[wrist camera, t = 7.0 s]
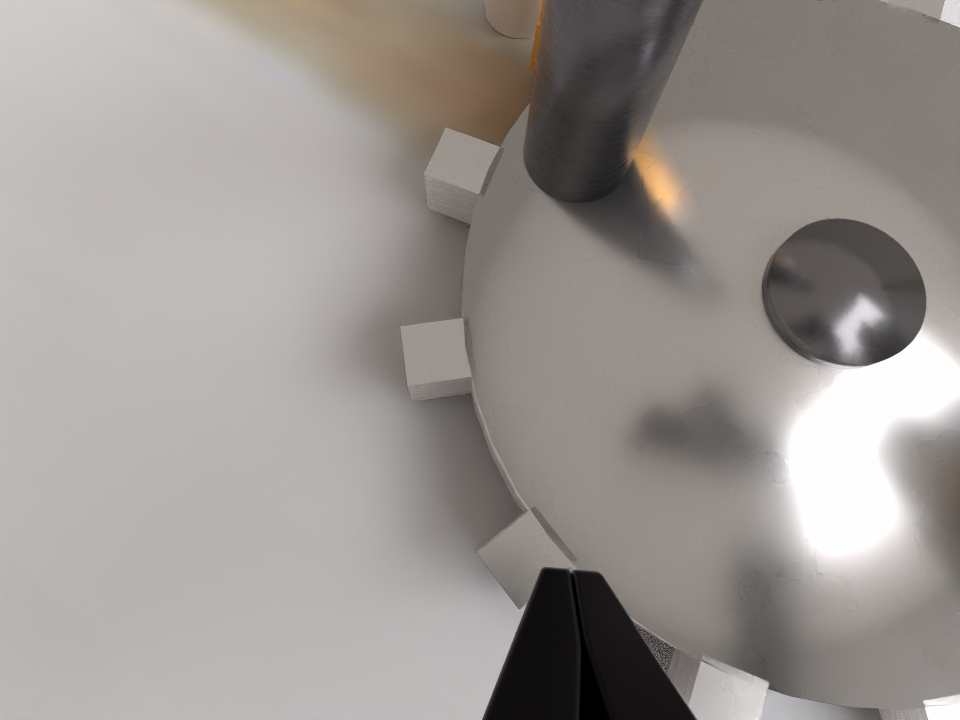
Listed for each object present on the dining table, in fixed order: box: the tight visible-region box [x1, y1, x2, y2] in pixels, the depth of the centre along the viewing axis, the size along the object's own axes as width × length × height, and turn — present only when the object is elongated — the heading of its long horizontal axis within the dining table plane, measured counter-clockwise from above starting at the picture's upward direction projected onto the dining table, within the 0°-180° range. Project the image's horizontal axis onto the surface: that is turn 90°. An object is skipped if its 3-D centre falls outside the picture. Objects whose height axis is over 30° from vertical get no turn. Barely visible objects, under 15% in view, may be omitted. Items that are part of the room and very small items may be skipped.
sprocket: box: [400, 0, 960, 720], centre depth 13 cm, size 23×23×13 cm
